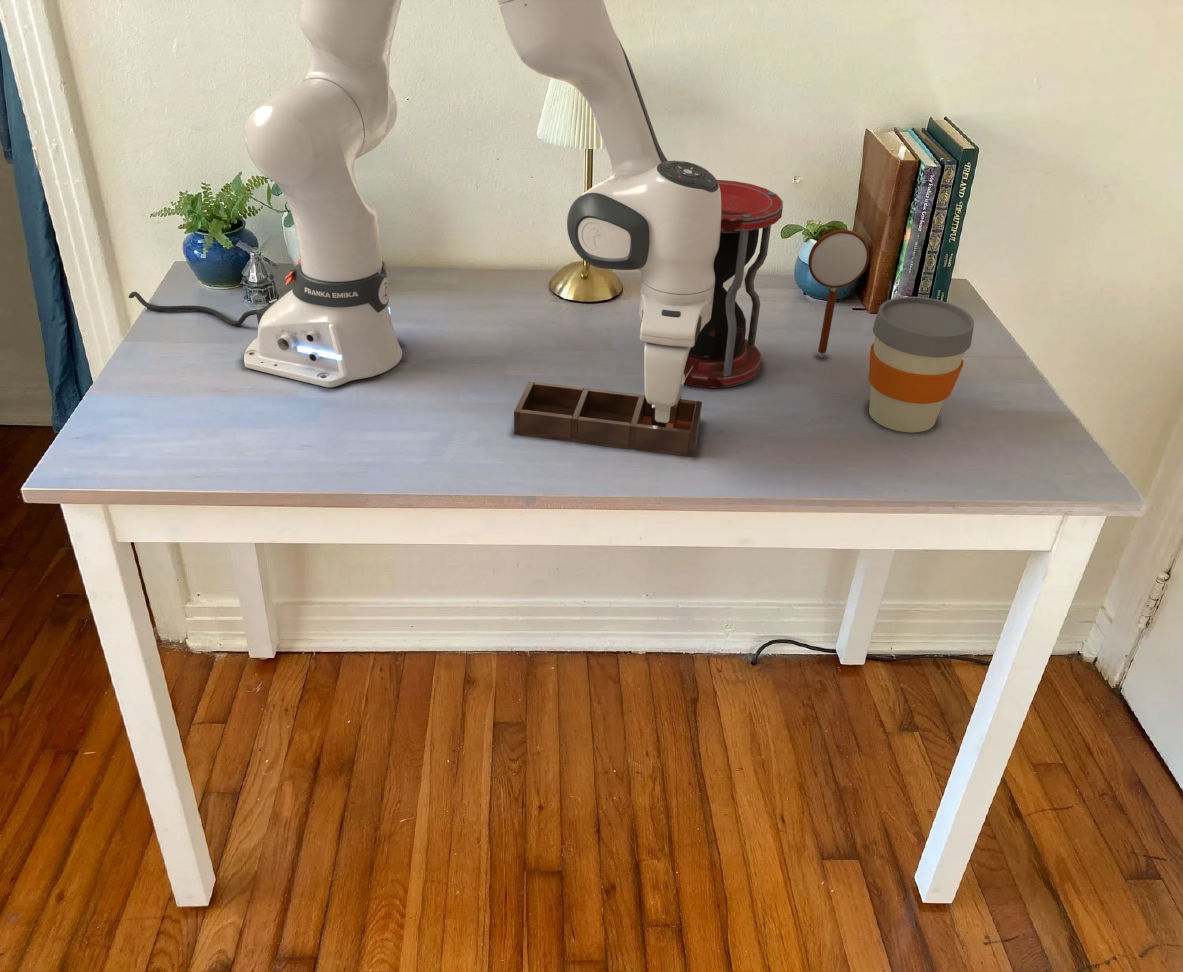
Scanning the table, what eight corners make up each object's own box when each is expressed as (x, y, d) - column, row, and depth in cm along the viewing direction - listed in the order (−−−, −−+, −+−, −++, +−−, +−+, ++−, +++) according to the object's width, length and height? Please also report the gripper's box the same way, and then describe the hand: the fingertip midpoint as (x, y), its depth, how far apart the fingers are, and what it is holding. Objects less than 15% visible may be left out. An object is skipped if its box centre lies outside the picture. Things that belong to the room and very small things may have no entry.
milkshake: (683, 443, 129) (690, 374, 123) (642, 437, 130) (647, 369, 124) (688, 425, 133) (695, 358, 127) (648, 420, 134) (653, 353, 128)
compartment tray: (514, 434, 131) (513, 411, 129) (529, 403, 138) (529, 380, 136) (693, 457, 128) (696, 434, 126) (699, 423, 135) (702, 401, 133)
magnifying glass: (793, 359, 151) (814, 231, 139) (791, 353, 152) (812, 226, 141) (850, 360, 151) (876, 232, 140) (848, 355, 152) (873, 228, 141)
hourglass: (636, 344, 153) (646, 182, 139) (732, 333, 157) (751, 174, 143) (676, 395, 141) (691, 223, 126) (778, 381, 145) (805, 212, 131)
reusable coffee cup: (965, 436, 134) (994, 335, 125) (877, 442, 132) (900, 339, 123) (924, 390, 144) (949, 293, 135) (842, 395, 142) (861, 297, 134)
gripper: (661, 266, 130) (653, 361, 137) (638, 335, 113) (630, 438, 121) (709, 271, 129) (699, 366, 137) (693, 341, 112) (682, 445, 120)
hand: (666, 401), depth 129 cm, fingers open, 8 cm apart
